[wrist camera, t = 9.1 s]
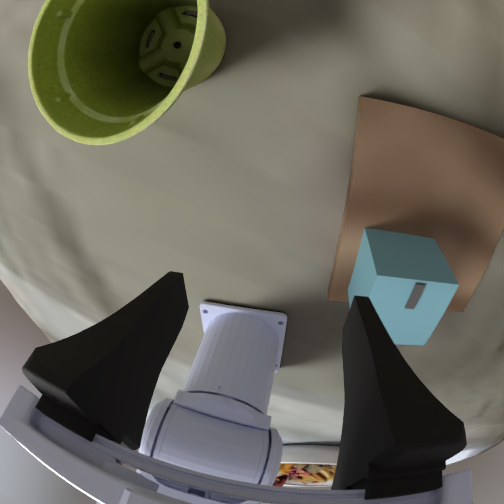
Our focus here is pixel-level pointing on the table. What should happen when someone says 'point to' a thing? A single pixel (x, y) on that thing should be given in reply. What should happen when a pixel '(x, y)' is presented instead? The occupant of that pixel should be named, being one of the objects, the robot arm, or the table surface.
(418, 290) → the blue cube with slot
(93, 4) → the plant pot
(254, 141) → the table surface
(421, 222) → the panel
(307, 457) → the bowl
